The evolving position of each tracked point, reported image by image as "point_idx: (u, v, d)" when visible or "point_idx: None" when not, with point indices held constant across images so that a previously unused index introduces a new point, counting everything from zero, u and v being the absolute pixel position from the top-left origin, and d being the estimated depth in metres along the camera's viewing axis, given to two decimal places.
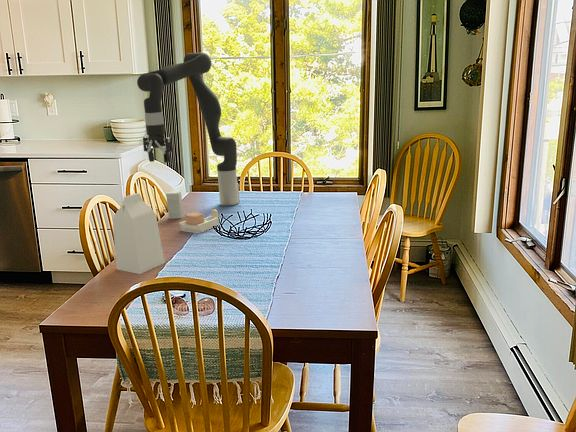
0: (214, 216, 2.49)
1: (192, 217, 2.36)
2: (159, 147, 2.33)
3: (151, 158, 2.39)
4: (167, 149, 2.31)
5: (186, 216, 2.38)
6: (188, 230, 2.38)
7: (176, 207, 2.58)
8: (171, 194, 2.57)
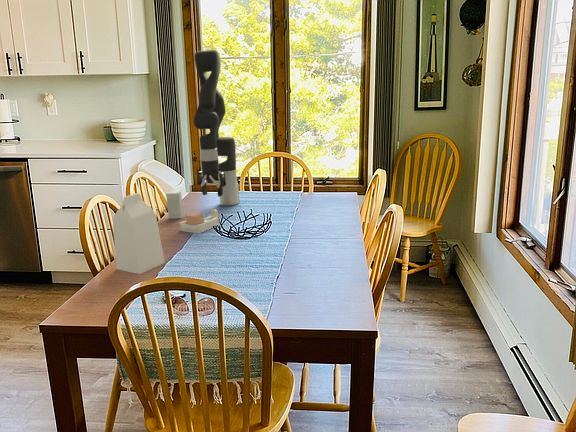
0: (214, 216, 2.49)
1: (192, 217, 2.36)
2: (213, 182, 2.43)
3: (204, 191, 2.49)
4: (221, 184, 2.42)
5: (186, 216, 2.38)
6: (188, 230, 2.38)
7: (176, 207, 2.58)
8: (171, 194, 2.57)
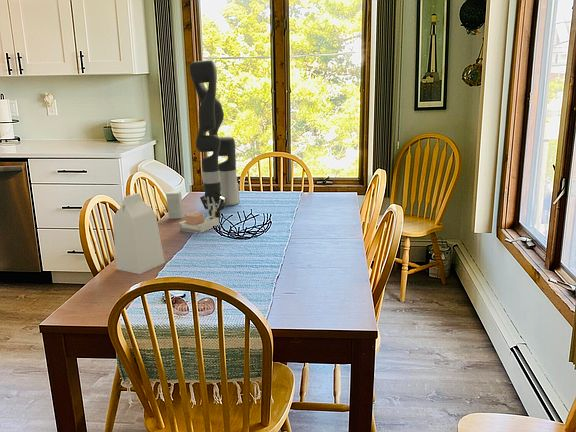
0: (214, 216, 2.49)
1: (192, 217, 2.36)
2: (213, 204, 2.47)
3: None
4: (219, 208, 2.46)
5: (186, 216, 2.38)
6: (188, 230, 2.38)
7: (176, 207, 2.58)
8: (171, 194, 2.57)
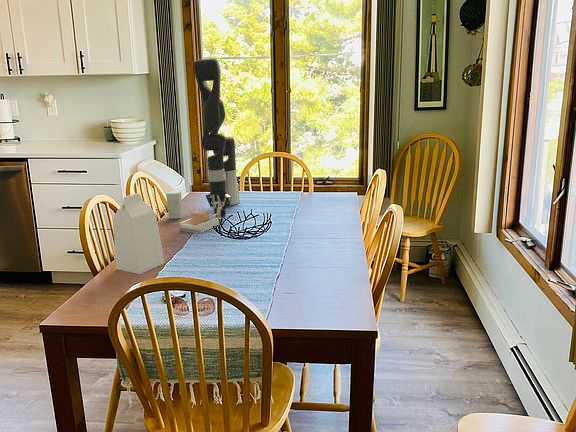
0: (219, 214, 2.52)
1: (198, 215, 2.39)
2: (219, 202, 2.50)
3: None
4: (225, 206, 2.49)
5: (192, 214, 2.41)
6: (188, 230, 2.38)
7: (176, 207, 2.58)
8: (171, 194, 2.57)
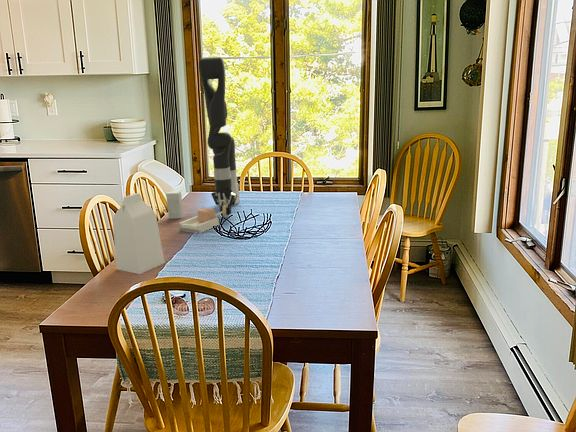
0: (225, 212, 2.56)
1: (204, 213, 2.43)
2: (224, 200, 2.53)
3: None
4: (230, 204, 2.53)
5: (198, 211, 2.44)
6: (188, 230, 2.38)
7: (176, 207, 2.58)
8: (171, 194, 2.57)
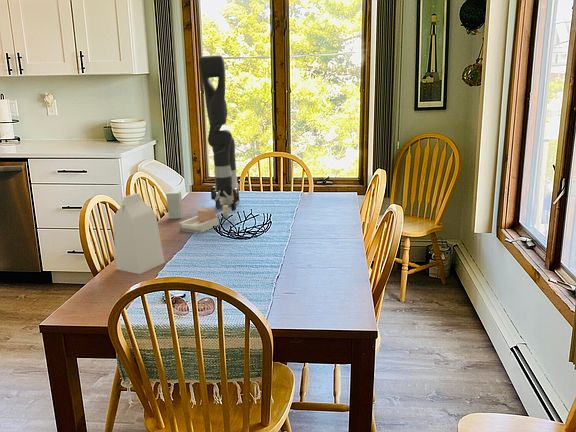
0: (225, 212, 2.56)
1: (204, 212, 2.43)
2: (227, 197, 2.52)
3: (218, 206, 2.58)
4: (235, 199, 2.51)
5: (198, 211, 2.44)
6: (188, 230, 2.38)
7: (176, 207, 2.58)
8: (171, 194, 2.57)
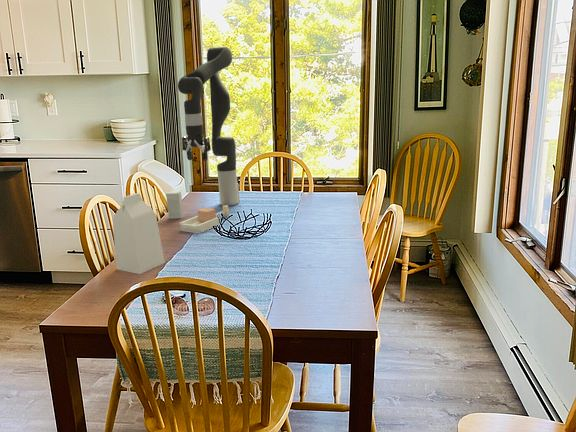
0: (225, 212, 2.56)
1: (204, 212, 2.43)
2: (198, 146, 2.47)
3: (189, 157, 2.53)
4: (206, 148, 2.46)
5: (198, 211, 2.44)
6: (188, 230, 2.38)
7: (176, 207, 2.58)
8: (171, 194, 2.57)
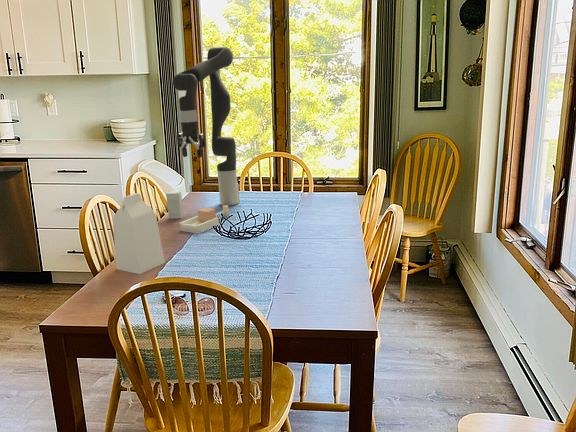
0: (225, 212, 2.56)
1: (204, 212, 2.43)
2: (193, 143, 2.47)
3: (184, 153, 2.53)
4: (201, 145, 2.46)
5: (198, 211, 2.44)
6: (188, 230, 2.38)
7: (176, 207, 2.58)
8: (171, 194, 2.57)
